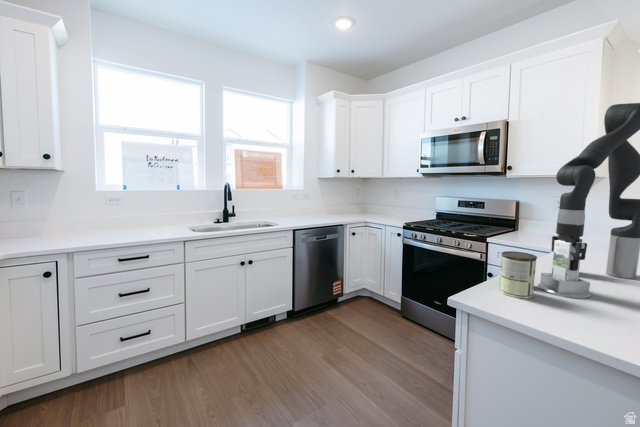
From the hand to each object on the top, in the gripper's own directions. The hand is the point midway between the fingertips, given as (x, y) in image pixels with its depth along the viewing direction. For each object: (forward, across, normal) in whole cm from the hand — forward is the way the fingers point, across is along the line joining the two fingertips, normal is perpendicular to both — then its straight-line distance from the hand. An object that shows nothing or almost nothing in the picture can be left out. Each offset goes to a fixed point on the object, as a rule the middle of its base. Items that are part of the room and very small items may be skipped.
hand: (565, 267), depth 109 cm
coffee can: (+9, +5, -19) cm, 22 cm away
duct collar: (+9, 0, 0) cm, 9 cm away
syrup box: (+5, 0, 0) cm, 5 cm away
